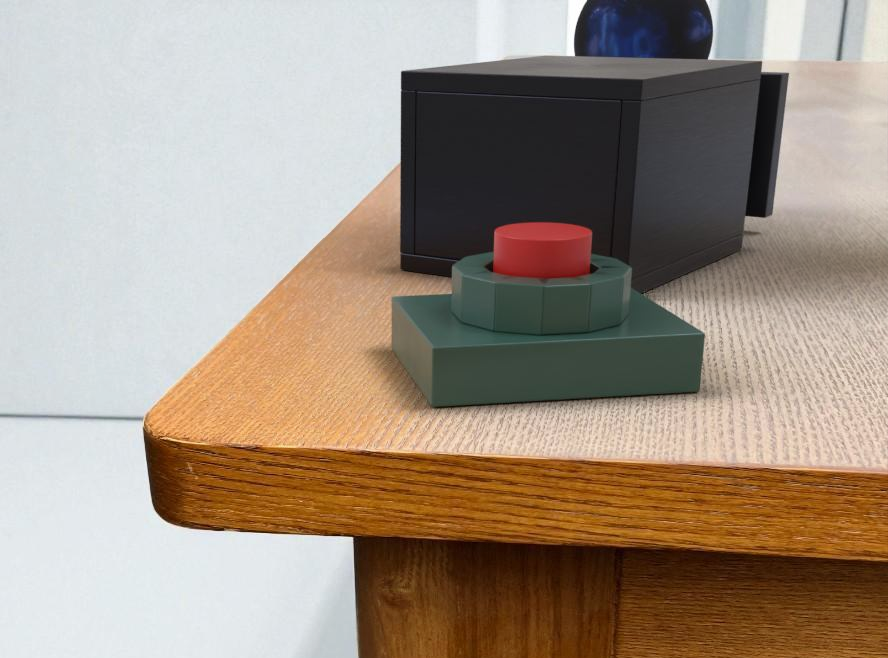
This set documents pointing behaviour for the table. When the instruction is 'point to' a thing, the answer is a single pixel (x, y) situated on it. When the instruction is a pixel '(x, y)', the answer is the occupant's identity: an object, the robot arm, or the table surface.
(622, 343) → the block
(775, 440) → the table surface
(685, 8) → the decorative sphere
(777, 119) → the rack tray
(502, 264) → the button
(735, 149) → the black paneled box
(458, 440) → the table surface
